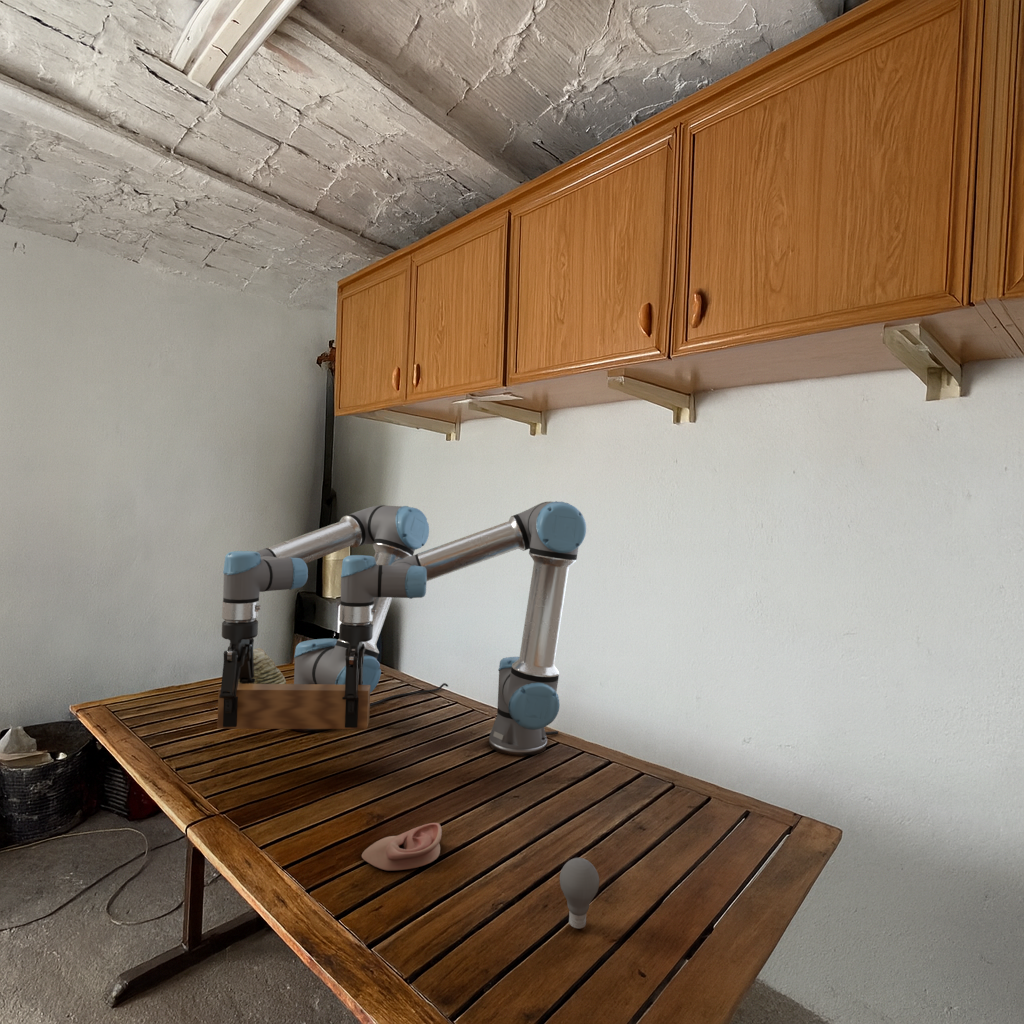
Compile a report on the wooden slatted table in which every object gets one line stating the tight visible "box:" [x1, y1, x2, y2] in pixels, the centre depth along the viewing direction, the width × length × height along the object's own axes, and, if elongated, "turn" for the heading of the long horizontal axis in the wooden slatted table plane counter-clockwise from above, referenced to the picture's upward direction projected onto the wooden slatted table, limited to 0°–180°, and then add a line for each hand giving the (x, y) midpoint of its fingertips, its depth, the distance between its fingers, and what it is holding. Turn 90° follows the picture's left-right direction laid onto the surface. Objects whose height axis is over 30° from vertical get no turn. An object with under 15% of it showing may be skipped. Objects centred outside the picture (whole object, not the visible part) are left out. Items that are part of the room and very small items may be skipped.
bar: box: [216, 683, 371, 730], centre depth 145 cm, size 33×5×9 cm, turn 96°
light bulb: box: [559, 857, 600, 929], centre depth 96 cm, size 6×6×10 cm
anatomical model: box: [361, 822, 443, 872], centre depth 114 cm, size 13×4×12 cm
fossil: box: [238, 647, 287, 684], centre depth 198 cm, size 9×18×15 cm, turn 132°
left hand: (236, 718), depth 144 cm, fingers open, 9 cm apart
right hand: (352, 722), depth 147 cm, fingers closed on bar, 5 cm apart
